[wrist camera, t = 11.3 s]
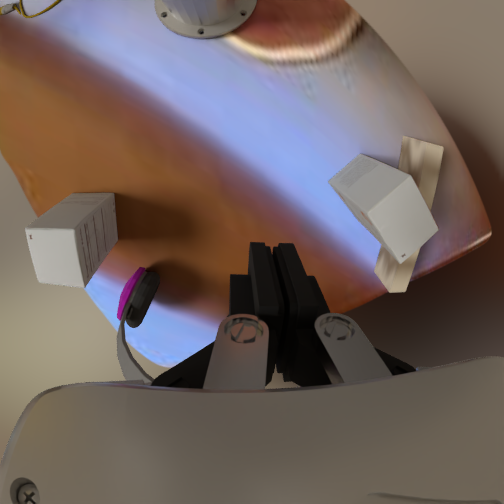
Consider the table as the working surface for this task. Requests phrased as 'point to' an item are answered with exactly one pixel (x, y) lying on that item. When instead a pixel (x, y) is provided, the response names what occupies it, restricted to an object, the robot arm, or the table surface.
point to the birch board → (425, 176)
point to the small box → (386, 205)
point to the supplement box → (73, 238)
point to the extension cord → (10, 7)
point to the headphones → (135, 318)
